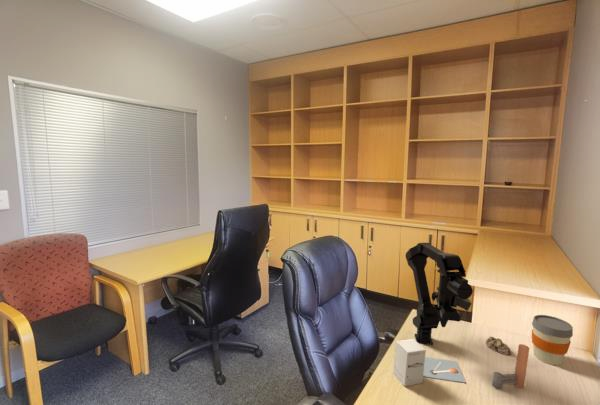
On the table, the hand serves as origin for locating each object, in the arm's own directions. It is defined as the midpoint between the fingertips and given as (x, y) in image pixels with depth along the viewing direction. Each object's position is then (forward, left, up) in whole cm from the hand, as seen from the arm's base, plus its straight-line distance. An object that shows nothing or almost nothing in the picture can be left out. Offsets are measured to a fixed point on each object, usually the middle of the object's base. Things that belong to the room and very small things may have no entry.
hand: (443, 326), depth 124 cm
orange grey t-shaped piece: (+11, +19, -13) cm, 26 cm away
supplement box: (+15, -14, -13) cm, 24 cm away
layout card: (+7, -1, -13) cm, 15 cm away
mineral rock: (-13, +26, -14) cm, 32 cm away
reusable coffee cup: (-10, +42, -13) cm, 45 cm away
